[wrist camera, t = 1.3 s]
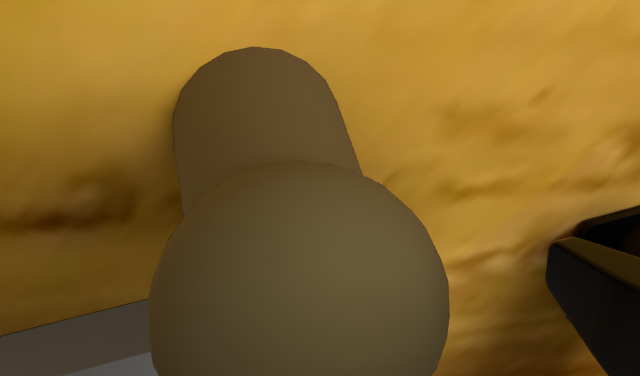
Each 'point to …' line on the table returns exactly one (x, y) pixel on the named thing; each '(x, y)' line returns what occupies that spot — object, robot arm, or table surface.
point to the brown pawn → (287, 239)
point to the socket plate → (83, 346)
